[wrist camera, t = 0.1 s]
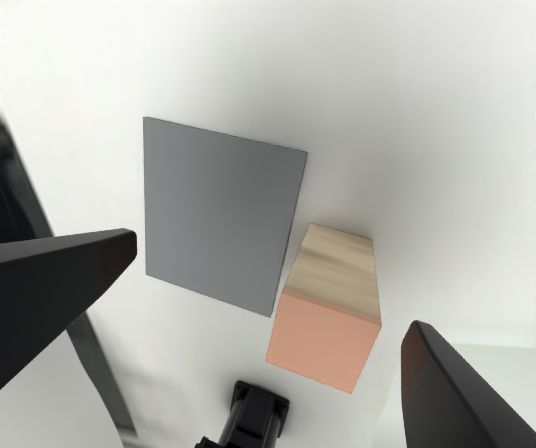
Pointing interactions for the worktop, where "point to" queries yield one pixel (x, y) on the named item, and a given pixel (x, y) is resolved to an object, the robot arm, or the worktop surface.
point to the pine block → (328, 309)
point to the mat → (218, 212)
